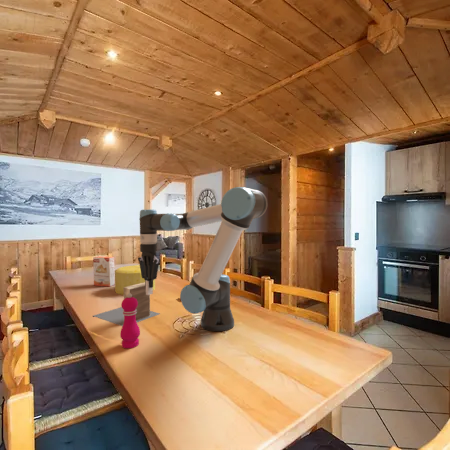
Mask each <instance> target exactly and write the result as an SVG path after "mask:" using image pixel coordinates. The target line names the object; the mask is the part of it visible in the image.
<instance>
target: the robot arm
mask: <svg viewBox="0 0 450 450" xmlns="http://www.w3.org/2000/svg"><path fill="white" fill-rule="evenodd" d="M220 201H221V202H220V204H215V205H212V206H209V207H208V206H207V207H203V208H201V209H196V210H191V211H188V212H187V211H186V212H183V213H157V210H156V209H141V210H140V211H139V243H140V244H139V252H141V256H140V257H137V260H138V263H139V264H138V265H140V270H141V275H142V278H144V280H145V287H146V295H150V296H151V295H153V293H154V292H153V291H154V290H153V280H154V279H155V280H157V279H158V278H157V277H158V272H159V265H160V262H161V259H160V258H157V253H156V252H158V244H157V242H158V231H162V232H163V231H167V232H174V231H178V230H180V231H181V230H190V229H193V228H196V227H202V226H206V225H210V224H215V223H220V222H221V223H220V225H219V228H218V230H217V231H216V235H215V237H214V239H213V241H212V243H211V245H210V247H209V250H208V252H207V254H206V256H205V258H204V261H203V263H202V265H201V266H200V269H199V271H198V272H194V274H193V276H192V278H191V280H190V282H189V284H186V285H185V286H184V287H182V289H181V291H180V295H179V298H180V301H181V305H182V307H183V308H184V309H185V310H186V311H187V312H188V313H190V314H196V315H197V314H200V313H202V315H201V319H200V327H201V328H202V329H203V330H206V331H210V332H224V331H227V330H231V329H232V328H233V327H234V326H235V318H234V316H233V312H232V310H231V280H230V279H231V278H230V276H229V275H227V274H223V273H224V271H225V268H226V267H227V264H228V262H229V260H230V258H231V256H232V254H233V251H234V250H235V247H236V246H237V243H238V241H239V239H240V237H241V236H242V232H244V231H245V230H248V229H249V228H250V226H251V224H252V221H253V220H255V219H259V218H260V217H262V216H263V215H264V214H265V213H266V211H267V208H268V198H267V197H266V195H265V194H264V192H262V191H260V190H258V189H254V188H249V187H245V186H237V187H236V186H235V187H232V188H230V189H228V190H227V191H226V192H225V193H224V195H223V197H222V198H221V200H220Z"/></svg>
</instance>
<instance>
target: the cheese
mask: <svg viewBox="0 0 450 450" xmlns="http://www.w3.org/2000/svg"><path fill="white" fill-rule="evenodd" d="M140 283H145V280H144V278H142V275H141V270H140V264H137V265H126V266H122V267H121V266H120V267H118V268H117V269H115V285H114V291H115V293H116V294H117V295H121V296H122V295H123V296H124V287H128V286H132V285H136V284H140ZM155 289H156V279H154V280H153V291H155Z"/></svg>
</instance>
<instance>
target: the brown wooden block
mask: <svg viewBox="0 0 450 450" xmlns="http://www.w3.org/2000/svg"><path fill="white" fill-rule="evenodd" d="M129 293H131V294H132V297H134V298H136V299H137V301H138V306H137V308H136V309H137V311H136V312H137V313H136V316H135V317H136V321H137V320H140V319H143V318H145V317H148V316H150V311H151V294H150V295H146V287H145V283H140V284H136V285H132V286H128V287H124V295H123V300H124V299H125V298H127V295H128V294H129Z"/></svg>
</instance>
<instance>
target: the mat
mask: <svg viewBox="0 0 450 450" xmlns="http://www.w3.org/2000/svg"><path fill="white" fill-rule="evenodd" d="M123 310H124V309H123V308H122V306H121V307H117V308H114V309H110V310H107V311H104V312H101V313H98V314H93V315H92V317H93V318H98V319H100V320H103V321H106V322H109V323H112V324H115V325H118V326H120V327H122V326H123V324H124V315H123ZM159 315H161V313H160V312H155V311H152V310H150V316H148V317H145V318H143V319H140V320H137V321H136V322H137V323H139V322H142V321H145V320H148V319H150V318H153V317H155V316H159Z"/></svg>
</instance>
